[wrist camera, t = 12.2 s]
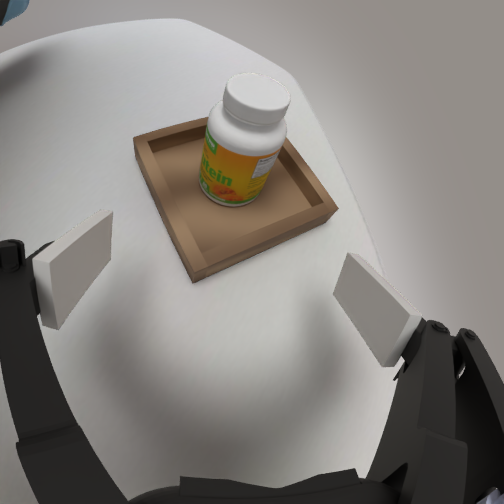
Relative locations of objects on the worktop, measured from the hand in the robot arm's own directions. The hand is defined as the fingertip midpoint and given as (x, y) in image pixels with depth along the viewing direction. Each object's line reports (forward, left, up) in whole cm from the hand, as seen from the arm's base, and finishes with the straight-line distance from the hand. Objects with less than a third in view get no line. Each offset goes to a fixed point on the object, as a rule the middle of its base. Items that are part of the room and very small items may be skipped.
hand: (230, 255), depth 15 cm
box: (-8, +5, -6) cm, 11 cm away
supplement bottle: (-7, +5, -6) cm, 11 cm away
